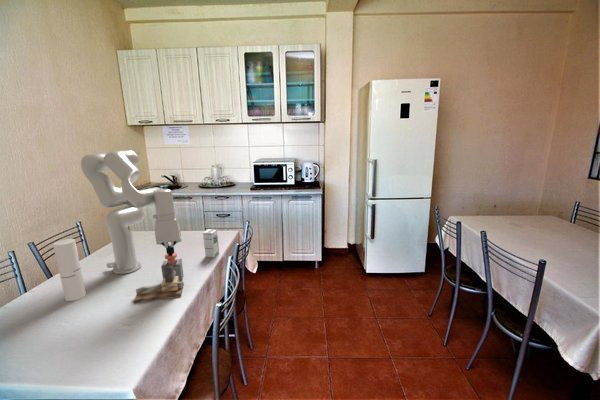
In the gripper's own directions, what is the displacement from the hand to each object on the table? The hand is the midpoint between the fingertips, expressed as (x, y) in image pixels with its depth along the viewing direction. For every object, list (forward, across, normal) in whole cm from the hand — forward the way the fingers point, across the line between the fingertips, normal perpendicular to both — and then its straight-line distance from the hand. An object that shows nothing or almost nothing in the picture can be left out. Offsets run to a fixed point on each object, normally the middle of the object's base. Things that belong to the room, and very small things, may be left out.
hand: (170, 254), depth 136 cm
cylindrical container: (+13, -39, -3) cm, 41 cm away
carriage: (+11, 0, -11) cm, 16 cm away
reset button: (+6, 0, 0) cm, 6 cm away
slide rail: (+13, -4, -11) cm, 17 cm away
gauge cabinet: (+13, 0, 0) cm, 13 cm away
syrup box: (+13, +17, +25) cm, 33 cm away
